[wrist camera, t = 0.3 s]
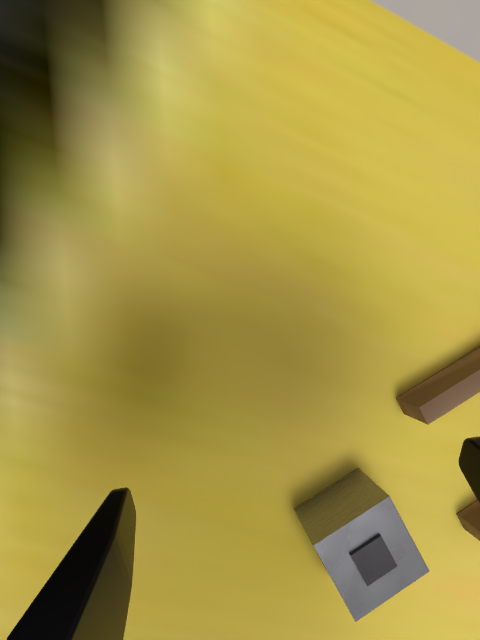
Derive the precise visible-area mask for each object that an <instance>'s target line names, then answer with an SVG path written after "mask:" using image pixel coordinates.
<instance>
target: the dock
mask: <svg viewBox="0 0 480 640" xmlns="http://www.w3.org/2000/svg"><path fill="white" fill-rule="evenodd" d="M479 392H480V347H479V348H477V349H475V350H474V351H472V352H471V353H469V354H467V355H466V356H464V357H463V358H461V359H459V360H458V361H456V362H454V363H453V364H451V365H450V366H448V367H446V368H445V369H443V370H441V371H440V372H438V373H437V374H435V375H433V376H432V377H430V378H429V379H427V380H425V381H424V382H422V383H420V384H419V385H417V386H416V387H414V388H412V389H411V390H409V391H407V392H406V393H404V394H403V395H401V396H399V397H398V398H396V399H397V401H398V403H399V405H400V407H401V409H402V411H403V413H404V414H405V415H408V416H410V417H412V418H414V419H417V420H419V421H421V422H423V423H425V424H430V423H431V422H433V421H435V420H436V419H438V418H439V417H441V416H442V415H444V414H446V413H447V412H449V411H450V410H452V409H453V408H455V407H457V406H458V405H460V404H461V403H463V402H464V401H466V400H468V399H469V398H471V397H472V396H474V395H475V394H477V393H479ZM457 516H458V518H459V520H460V521H461V523H462V525H463V527H464V529H465V530H466V531H468V532H469V533H470V534H472V535H473V536H474V537H475V538H477V539H478V540H479V541H480V503H479V501H478V500H477V501H476V502H474V503H473V504H471V505H470V506H468V507H467V508H465V509H464V510H462V511H461V512H459V513H458V514H457Z"/></svg>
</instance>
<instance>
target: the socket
mask: <svg viewBox="0 0 480 640" xmlns="http://www.w3.org/2000/svg"><path fill="white" fill-rule="evenodd" d="M294 510H295V512H296V514H297V516H298V518H299V520H300V522H301V523H302V525H303V527H304V529H305V531H306V533H307V535H308V537H309V539H310V540H311V542H312V544H313V546H314V548H315V550H316V552H317V553H318V555H319V557H320V559H321V561H322V562H323V564H324V566H325V568H326V570H327V571H328V573H329V575H330V577H331V579H332V580H333V582H334V584H335V586H336V588H337V589H338V591H339V593H340V595H341V597H342V598H343V600H344V602H345V604H346V606H347V607H348V609H349V611H350V613H351V615H352V616H353V618H354V620H355V622H356V621H357V620H359V619H360V618H362V617H363V616H365V615H366V614H368V613H369V612H371V611H372V610H374V609H375V608H376V607H378V606H379V605H381V604H382V603H384V602H385V601H387V600H388V599H390V598H391V597H392V596H394V595H395V594H397V593H398V592H400V591H401V590H403V589H404V588H406V587H407V586H409V585H410V584H411V583H413V582H414V581H416V580H417V579H419V578H420V577H422V576H423V575H425V574H426V573H427V572H429V569H428V568H427V566H426V564H425V562H424V560H423V558H422V556H421V554H420V553H419V551H418V549H417V547H416V545H415V543H414V541H413V539H412V538H411V536H410V534H409V532H408V530H407V528H406V526H405V524H404V523H403V521H402V519H401V517H400V515H399V513H398V511H397V509H396V508H395V506H394V504H393V502H392V500H391V498H390V496H389V495H388V494H386V493H385V492H384V491H383V490H382V489H381V488H380V487H379V486H378V485H376V484H375V483H374V482H373V481H372V480H371V479H370V478H369V477H368V476H366V475H365V474H364V473H363V472H362V471H361V470H360V469H359V468H358V469H356V470H355V471H353V472H351V473H350V474H348V475H347V476H345V477H343V478H342V479H340V480H339V481H337V482H336V483H334V484H332V485H331V486H329V487H328V488H326V489H324V490H323V491H321V492H320V493H318V494H317V495H315V496H313V497H312V498H310V499H309V500H307V501H305V502H304V503H302V504H301V505H299V506H298V507H296V508H294Z"/></svg>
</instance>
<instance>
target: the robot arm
mask: <svg viewBox="0 0 480 640" xmlns="http://www.w3.org/2000/svg"><path fill="white" fill-rule="evenodd" d="M459 466H460V469H461V471H462V473H463V474H464V476H465V478H466V480H467V482H468V483H469V485H470V487H471V489H472V491H473V492H474V494H475V496H476V498H477V500H478V501H479V503H480V437H472V438H467V439H465V440H464V442H463V445H462V449H461V453H460V457H459ZM135 527H136V510H135V506H134V502H133V499H132V495H131V492H130V490H129V488H120V489H114V490H112V491H111V492H110V493H109V495H108V496H107V497H106V499H105V500H104V502H103V503H102V505H101V506H100V507H99V509H98V510H97V512H96V513H95V514H94V516H93V517H92V519H91V520H90V521H89V523H88V524H87V526H86V527H85V529H84V530H83V531H82V533H81V534H80V536H79V537H78V538H77V540H76V541H75V543H74V544H73V546H72V547H71V548H70V550H69V551H68V553H67V554H66V555H65V557H64V558H63V560H62V561H61V562H60V564H59V565H58V567H57V568H56V570H55V571H54V572H53V574H52V575H51V577H50V578H49V579H48V581H47V582H46V584H45V585H44V587H43V588H42V589H41V591H40V592H39V594H38V595H37V596H36V598H35V599H34V601H33V602H32V603H31V605H30V606H29V608H28V609H27V611H26V612H25V613H24V615H23V616H22V618H21V619H20V620H19V622H18V623H17V625H16V626H15V628H14V629H13V630H12V632H11V633H10V635H9V636H8V637H7V640H123V637H124V631H125V625H126V619H127V613H128V607H129V600H130V594H131V587H132V576H133V561H134V544H135Z"/></svg>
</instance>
